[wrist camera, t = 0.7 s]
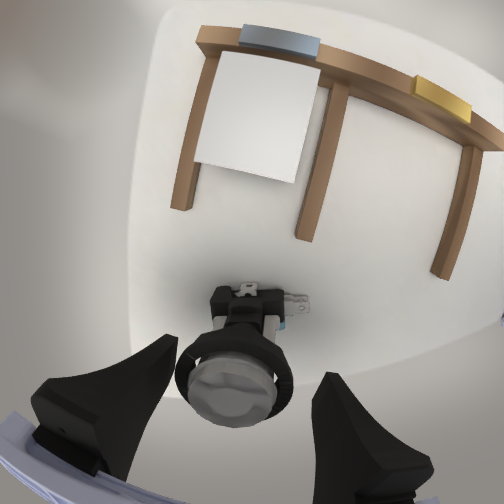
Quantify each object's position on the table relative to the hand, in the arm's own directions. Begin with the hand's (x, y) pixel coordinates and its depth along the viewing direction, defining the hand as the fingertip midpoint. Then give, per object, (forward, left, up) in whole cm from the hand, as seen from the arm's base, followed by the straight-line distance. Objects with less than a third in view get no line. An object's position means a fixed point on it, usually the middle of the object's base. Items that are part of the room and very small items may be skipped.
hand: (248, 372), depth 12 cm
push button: (0, 0, -8) cm, 8 cm away
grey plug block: (+2, -11, -8) cm, 14 cm away
